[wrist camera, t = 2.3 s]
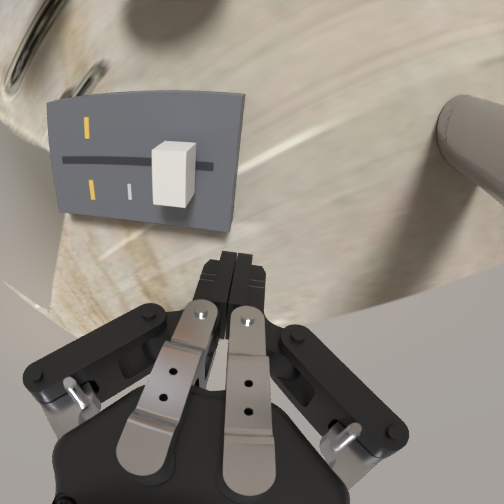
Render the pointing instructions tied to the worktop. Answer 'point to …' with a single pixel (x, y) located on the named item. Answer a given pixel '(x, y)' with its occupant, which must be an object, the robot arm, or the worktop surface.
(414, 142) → the worktop surface
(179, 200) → the fader knob
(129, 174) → the panel
